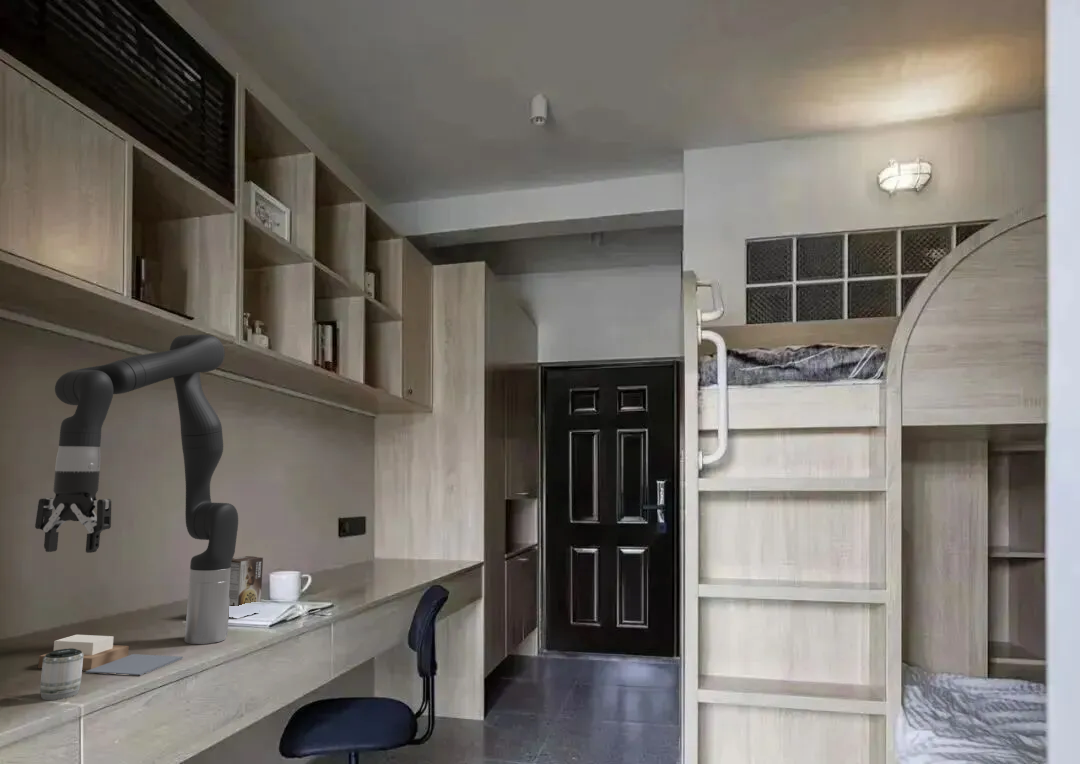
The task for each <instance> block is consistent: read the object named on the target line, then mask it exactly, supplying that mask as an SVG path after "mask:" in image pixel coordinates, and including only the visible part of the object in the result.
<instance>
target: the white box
mask: <svg viewBox="0 0 1080 764" xmlns="http://www.w3.org/2000/svg"><path fill="white" fill-rule="evenodd" d="M114 638H115V636H114V635H113V636H112V635H111V636H110V635H92V634H91V635H90V634H74V635H71V636H67V637H63V638H60V639H57V640H54V641H53V643H54V644H53V651H55V650H61V649H69V648H73V649H77V650H80V651H82V652H83V654H84V655H94V654H97V653H100V652H103V651H106V650H109V649H112V648H113V645H114Z"/></svg>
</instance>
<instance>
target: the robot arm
mask: <svg viewBox="0 0 1080 764" xmlns="http://www.w3.org/2000/svg"><path fill="white" fill-rule="evenodd" d="M225 353H226V352H225V348H224V345H223V343H222V342H221V340H220V339H219V338H218V337H215V336H214V335H210V334H204V333H203V334H183V335H179V336H176V337H175V338H174V339H173V340H171V343H170V346H169V350H164V351H158V352H152V353H145V354H140V355H134V356H130V357H126V358H122V359H119V360H118V359H117V360H115V361H113V362H110V363H106V364H102V365H96V366H89V367H84V368H79V369H75V370H70V371H68V372H65V373H64V374H62V375H61V376H60V377H58V379H57V380H56V381H55V385H54V392H55V395H56V397H57V399H59V401H61V402H63V403H64V404H66V405H70V406H76V409H75V412H74V413H73V415H71V416H69V417H66V418H64V419H63V420H62V422H61V425H60V429H59V430H60V431H59V440H58V450H57V454H56V459H55V467H54V468H55V469H54V479H53V489H52V490H53V493H54V494H55V496H54V498H52V497H45V498H40V499H38V504H37V510H36V518H35V525H34V526H35V527H34V528H35V529H36V530H42V531H43V532H44V540H43V541H44V542H43V548H44V550H45V552H46V553H51V552H56V551H57V550H58V542H59V533H60V532H59V531H58V530H59V529H60V528H61V527H62V525H63V524H65V523H66V522H69V521H72V522H79V523H80V524H81V525H82V526H84V528H85V529H86V531H87V533H86V542H85V543H86V544H85V553H87V554H88V553H90V554H91V553H96V552H97V550H99V548H100V541H101V540H100V539H101V538H100V537H101V532H104V531H106V530H110V528H111V527H112V499H110V498H103V499H97V496H96V495H97V493H98V492H99V485H100V484H99V483H100V473H101V462H102V461H101V459H102V458H101V441H102V440H101V439H102V427H103V425H104V422H105V420H106V417H107V415H108V413H109V409H110V407H111V404H112V400H113V396H114V395H121V394H126V393H129V392H133V391H136V390H139V389H141V388H144V387H147V386H150V385H153V384H155V383H159V382H162V381H165V380H168V379H169V380H170V379H173V383H174V386H175V387H174V388H175V393H176V398H177V399H176V400H177V405H178V406H177V407H178V412H179V413H178V414H179V421H180V423H179V425H180V437H181V438H180V439H181V447H182V448H181V449H182V453H183V454H182V455H183V464H184V465H183V466H184V478H185V511H184V512H185V526H186V527H185V528H186V529H187V533H188V534H189V536H190V537H191V538H192V539H195V540H201V541H206V540H207V541H208V543H207V547H206V550H204V551H203V552H202V553H199V554H196V555H194V556H192V557H191V560H190V567H189V578H188V581H189V582H188V592H187V593H188V595H187V605H186V618H185V630H184V642H185V643H186V644H190V645H191V644H192V645H206V644H207V645H208V644H213V643H219V642H222V641H224V640H226V639H227V637H228V632H229V631H228V630H229V629H228V628H229V619H230V618H229V604H230V598H229V587H230V571H231V562H232V559H233V558H234V556H235V553H236V544H237V536H238V531H239V513H238V511H237V508H236V507H235V506H234V504H231V503H228V502H213V501H212V499H211V482H212V478H213V475H214V473H215V470H216V468H217V467H218V465H219V463H220V461H221V458H222V455H223V452H224V437H223V427H222V422H221V420H220V418H219V416H218V414H217V413H216V411H215V410H214V408H213V407H212V405H211V403H210V402H209V399H207V397H206V395H205V393H204V390H203V388H202V382H201V381H202V380H201V374H200V373H209V372H212V371H215V370H217V369H218V368H219V367H220V366H221V365H222V364H223V362H224V360H225ZM53 509H54V512H53ZM94 510H96V512H95V511H94Z"/></svg>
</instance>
